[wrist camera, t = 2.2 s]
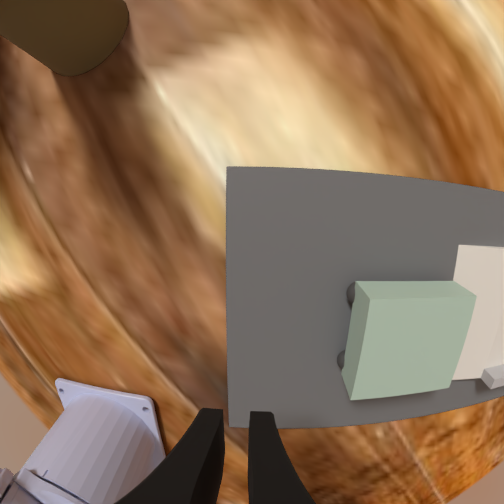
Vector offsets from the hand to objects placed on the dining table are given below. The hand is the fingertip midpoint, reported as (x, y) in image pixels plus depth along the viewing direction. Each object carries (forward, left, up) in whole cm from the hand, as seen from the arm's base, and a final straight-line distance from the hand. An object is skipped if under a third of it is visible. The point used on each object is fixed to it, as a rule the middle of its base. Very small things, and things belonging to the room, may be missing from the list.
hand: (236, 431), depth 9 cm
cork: (+17, +10, -9) cm, 22 cm away
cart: (0, -8, -8) cm, 12 cm away
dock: (0, -13, -8) cm, 15 cm away
